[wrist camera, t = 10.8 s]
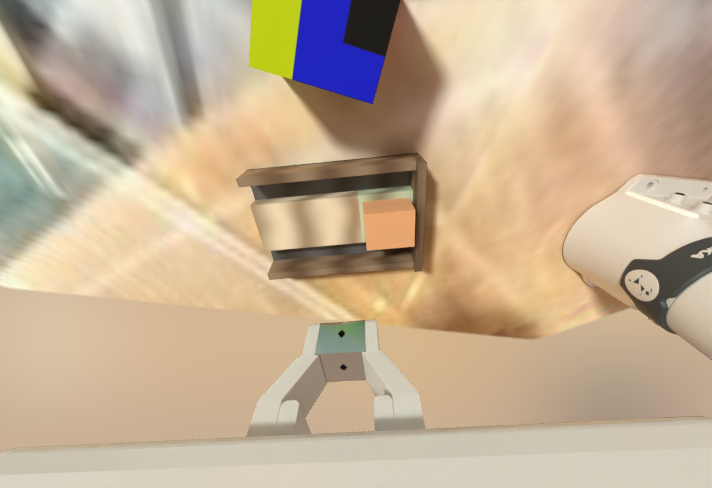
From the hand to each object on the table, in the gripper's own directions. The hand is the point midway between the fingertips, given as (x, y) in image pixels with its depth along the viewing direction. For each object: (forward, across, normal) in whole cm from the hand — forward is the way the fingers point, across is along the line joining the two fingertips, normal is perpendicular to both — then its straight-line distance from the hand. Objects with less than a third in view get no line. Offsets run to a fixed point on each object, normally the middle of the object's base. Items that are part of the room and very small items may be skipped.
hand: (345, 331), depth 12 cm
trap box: (+26, -3, -6) cm, 27 cm away
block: (+24, +4, -6) cm, 25 cm away
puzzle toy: (+27, 0, +14) cm, 30 cm away
